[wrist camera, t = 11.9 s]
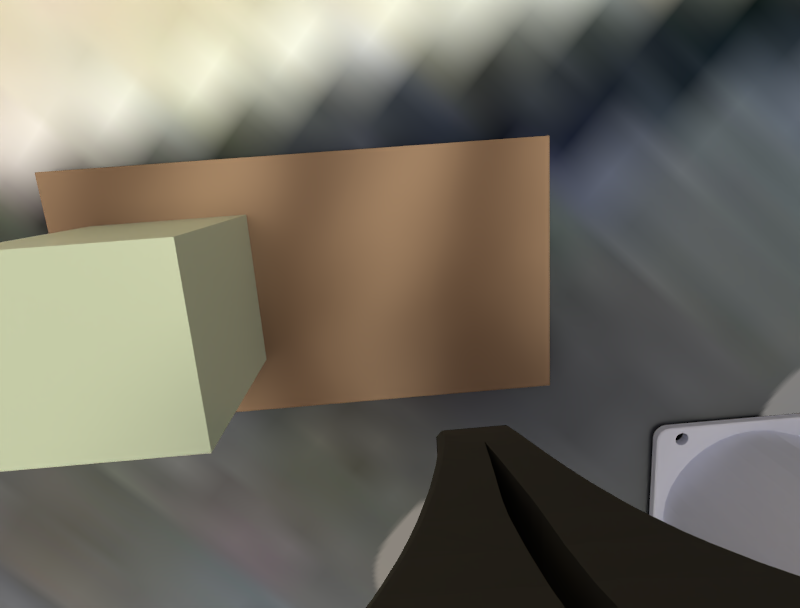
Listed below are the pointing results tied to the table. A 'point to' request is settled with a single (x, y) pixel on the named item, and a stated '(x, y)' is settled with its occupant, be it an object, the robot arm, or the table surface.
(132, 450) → the pale green block
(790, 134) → the table surface
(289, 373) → the board
